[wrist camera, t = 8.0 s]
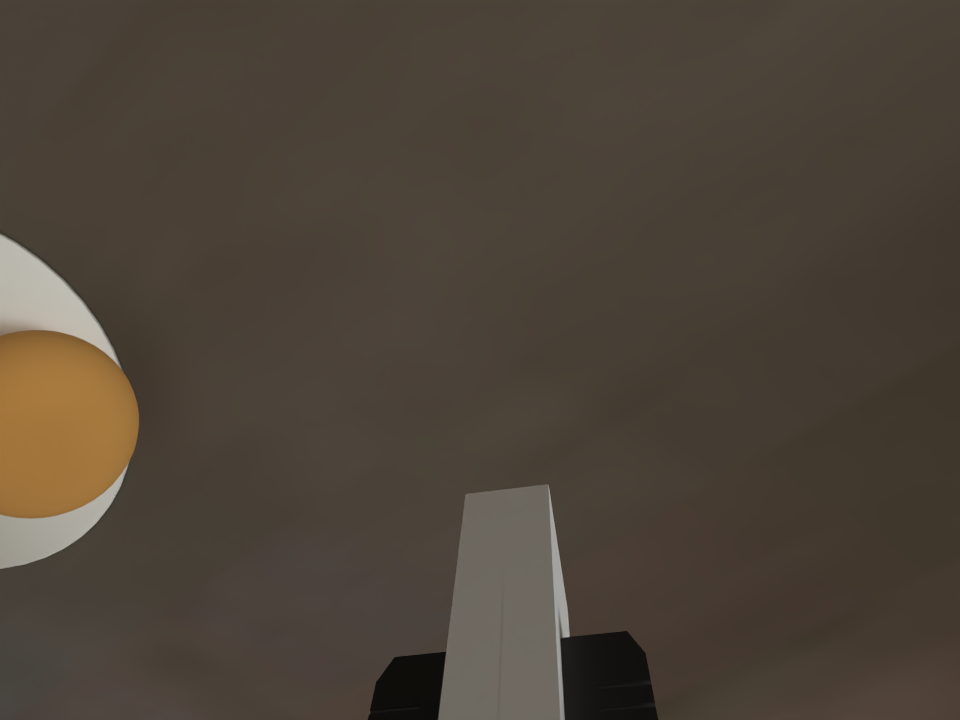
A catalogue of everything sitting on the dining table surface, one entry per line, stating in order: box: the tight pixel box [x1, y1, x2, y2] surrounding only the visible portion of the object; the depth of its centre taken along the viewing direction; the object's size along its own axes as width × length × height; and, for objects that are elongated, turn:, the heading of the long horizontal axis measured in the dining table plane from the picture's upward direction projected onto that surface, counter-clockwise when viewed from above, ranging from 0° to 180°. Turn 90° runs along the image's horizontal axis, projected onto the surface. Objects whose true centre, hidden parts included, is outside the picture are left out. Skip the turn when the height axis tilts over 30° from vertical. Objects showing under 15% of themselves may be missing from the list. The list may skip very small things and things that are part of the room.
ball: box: [0, 330, 139, 519], centre depth 26 cm, size 6×6×6 cm
